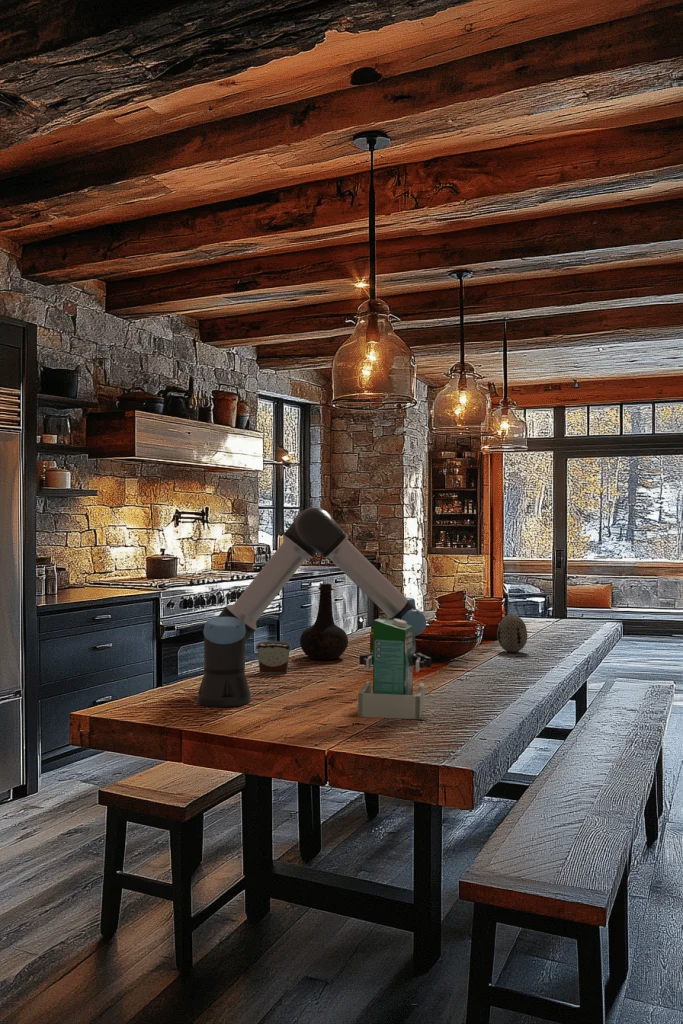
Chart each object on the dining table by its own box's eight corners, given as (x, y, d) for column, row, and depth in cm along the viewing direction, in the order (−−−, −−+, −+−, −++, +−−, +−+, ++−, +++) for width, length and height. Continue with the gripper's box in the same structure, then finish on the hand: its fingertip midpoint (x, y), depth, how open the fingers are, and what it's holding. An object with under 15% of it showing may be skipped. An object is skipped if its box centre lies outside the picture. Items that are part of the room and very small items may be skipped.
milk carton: (404, 714, 223) (405, 621, 223) (372, 711, 226) (373, 619, 226) (412, 706, 232) (413, 617, 232) (381, 704, 234) (382, 616, 235)
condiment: (366, 657, 313) (366, 626, 313) (373, 654, 321) (373, 623, 321) (384, 659, 310) (384, 627, 310) (391, 655, 318) (391, 624, 318)
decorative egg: (532, 654, 323) (532, 615, 323) (505, 655, 320) (505, 616, 320) (518, 649, 334) (518, 612, 335) (492, 650, 331) (492, 613, 331)
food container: (294, 670, 286) (294, 641, 286) (291, 673, 280) (291, 644, 280) (258, 669, 287) (259, 640, 287) (255, 672, 281) (255, 643, 281)
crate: (419, 719, 217) (419, 696, 217) (357, 716, 220) (358, 693, 220) (424, 704, 234) (424, 683, 234) (366, 702, 237) (367, 681, 237)
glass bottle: (290, 659, 308) (291, 583, 309) (318, 652, 323) (319, 581, 323) (330, 664, 298) (330, 586, 299) (356, 657, 313) (357, 583, 314)
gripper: (441, 667, 245) (438, 681, 224) (358, 664, 249) (346, 677, 228) (441, 642, 245) (438, 653, 224) (358, 639, 249) (347, 650, 228)
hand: (392, 666), depth 226 cm, fingers open, 13 cm apart
